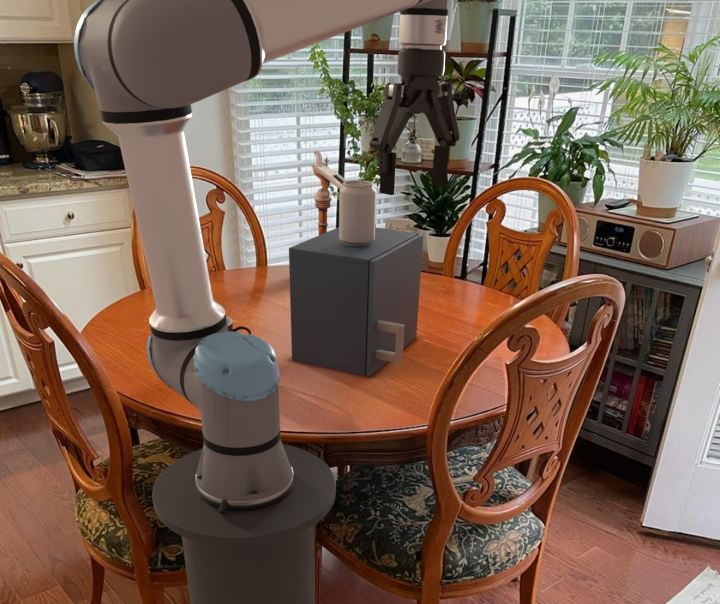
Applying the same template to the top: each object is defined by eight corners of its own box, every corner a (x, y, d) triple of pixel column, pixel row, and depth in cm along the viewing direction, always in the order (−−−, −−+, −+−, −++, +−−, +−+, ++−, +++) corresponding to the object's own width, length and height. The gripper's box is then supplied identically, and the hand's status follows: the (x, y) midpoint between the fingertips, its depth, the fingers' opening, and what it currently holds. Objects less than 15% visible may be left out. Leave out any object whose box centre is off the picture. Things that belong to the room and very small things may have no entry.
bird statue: (361, 271, 219) (365, 147, 201) (354, 283, 208) (357, 153, 190) (309, 268, 221) (307, 144, 203) (299, 279, 210) (297, 150, 192)
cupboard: (411, 337, 172) (418, 233, 159) (365, 375, 151) (368, 259, 139) (345, 324, 178) (346, 223, 165) (291, 360, 158) (288, 247, 145)
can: (334, 239, 152) (334, 179, 146) (367, 237, 154) (368, 178, 148) (346, 248, 146) (346, 185, 140) (380, 245, 148) (382, 184, 142)
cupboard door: (439, 341, 169) (448, 237, 157) (395, 381, 149) (401, 265, 136) (412, 336, 172) (419, 233, 159) (366, 375, 151) (369, 260, 139)
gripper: (384, 47, 104) (379, 201, 115) (488, 49, 119) (474, 185, 130) (349, 46, 108) (347, 194, 119) (453, 48, 123) (442, 179, 134)
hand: (413, 189), depth 125 cm, fingers open, 13 cm apart
